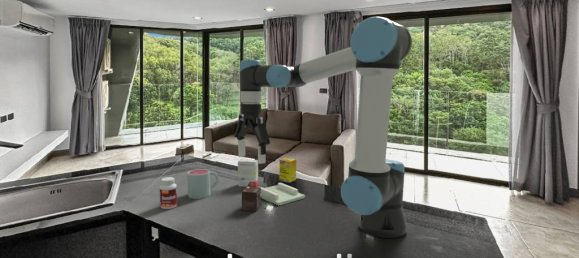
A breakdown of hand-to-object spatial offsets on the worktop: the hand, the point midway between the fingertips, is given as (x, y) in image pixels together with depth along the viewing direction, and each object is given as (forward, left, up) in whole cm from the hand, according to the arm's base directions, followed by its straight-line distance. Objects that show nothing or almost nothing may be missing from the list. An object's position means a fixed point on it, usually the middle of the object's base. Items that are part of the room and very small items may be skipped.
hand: (251, 159), depth 123 cm
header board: (+4, -16, -19) cm, 25 cm away
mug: (+26, +7, -19) cm, 33 cm away
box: (0, 0, -19) cm, 19 cm away
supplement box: (+17, -32, -19) cm, 41 cm away
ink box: (+24, -14, -19) cm, 33 cm away
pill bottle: (+21, +24, -19) cm, 37 cm away
